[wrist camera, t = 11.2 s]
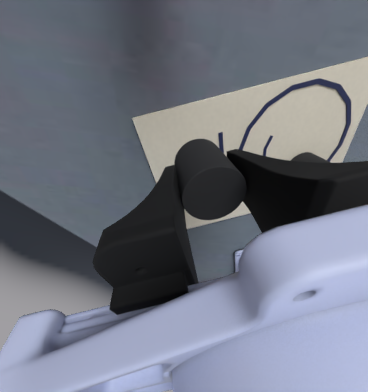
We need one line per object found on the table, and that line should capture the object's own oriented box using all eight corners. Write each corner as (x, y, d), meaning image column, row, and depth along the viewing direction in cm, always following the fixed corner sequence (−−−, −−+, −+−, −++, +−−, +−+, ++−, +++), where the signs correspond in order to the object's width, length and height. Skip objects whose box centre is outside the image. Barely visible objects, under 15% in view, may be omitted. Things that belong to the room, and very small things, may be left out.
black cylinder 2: (310, 175, 20) (343, 196, 17) (282, 183, 20) (308, 205, 17) (319, 148, 18) (359, 165, 14) (287, 156, 18) (319, 175, 14)
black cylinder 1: (222, 176, 13) (246, 212, 10) (180, 187, 13) (188, 226, 10) (219, 132, 11) (248, 158, 8) (168, 145, 11) (174, 176, 8)
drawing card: (327, 192, 23) (329, 193, 22) (174, 230, 23) (174, 232, 23) (386, 51, 14) (391, 51, 13) (132, 117, 14) (131, 118, 14)
